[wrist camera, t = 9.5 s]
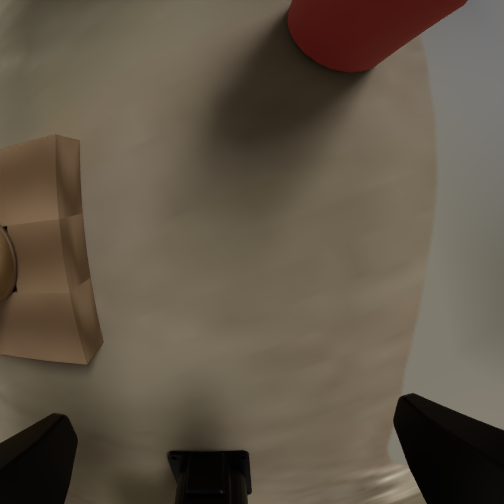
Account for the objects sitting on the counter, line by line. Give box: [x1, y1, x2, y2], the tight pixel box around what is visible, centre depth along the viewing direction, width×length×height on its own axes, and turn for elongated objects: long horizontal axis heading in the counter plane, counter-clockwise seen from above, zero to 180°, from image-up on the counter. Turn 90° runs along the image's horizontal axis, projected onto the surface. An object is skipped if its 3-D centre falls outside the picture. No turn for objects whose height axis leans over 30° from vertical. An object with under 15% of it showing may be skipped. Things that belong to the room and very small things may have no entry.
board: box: [0, 134, 103, 364], centre depth 16 cm, size 13×12×3 cm
